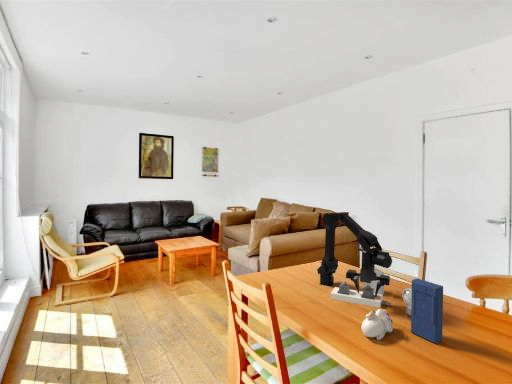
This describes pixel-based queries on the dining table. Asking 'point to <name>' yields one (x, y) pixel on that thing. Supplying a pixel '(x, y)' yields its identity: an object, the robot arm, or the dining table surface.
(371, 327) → the cat figurine
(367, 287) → the plug
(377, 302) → the strip
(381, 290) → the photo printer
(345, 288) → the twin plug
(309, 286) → the dining table surface
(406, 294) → the light bulb
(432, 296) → the electronic device
